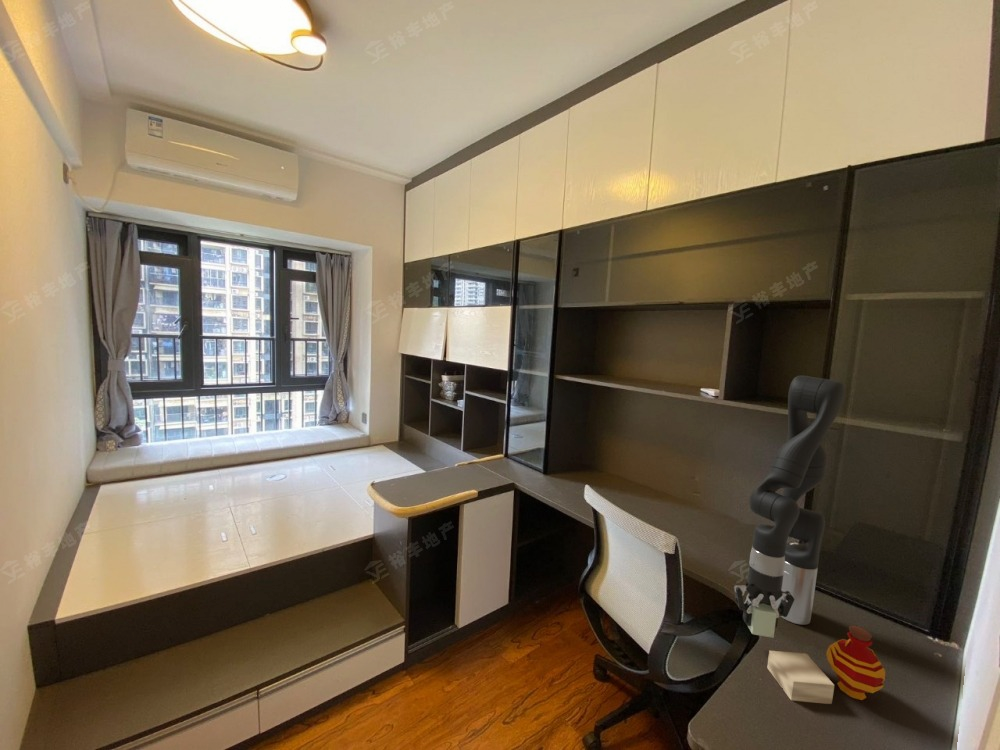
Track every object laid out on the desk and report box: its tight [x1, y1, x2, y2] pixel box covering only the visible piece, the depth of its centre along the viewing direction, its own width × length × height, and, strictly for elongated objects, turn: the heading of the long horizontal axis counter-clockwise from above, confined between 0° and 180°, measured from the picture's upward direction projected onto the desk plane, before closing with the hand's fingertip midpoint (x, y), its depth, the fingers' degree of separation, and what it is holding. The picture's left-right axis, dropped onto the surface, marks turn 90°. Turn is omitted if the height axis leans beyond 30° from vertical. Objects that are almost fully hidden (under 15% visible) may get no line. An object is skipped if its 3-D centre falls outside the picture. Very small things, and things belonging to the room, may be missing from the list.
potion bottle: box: [826, 625, 886, 701], centre depth 94 cm, size 10×10×15 cm
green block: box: [747, 604, 777, 639], centre depth 105 cm, size 5×5×7 cm
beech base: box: [766, 650, 835, 705], centre depth 95 cm, size 9×9×5 cm
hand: (759, 625), depth 105 cm, fingers closed on green block, 5 cm apart
